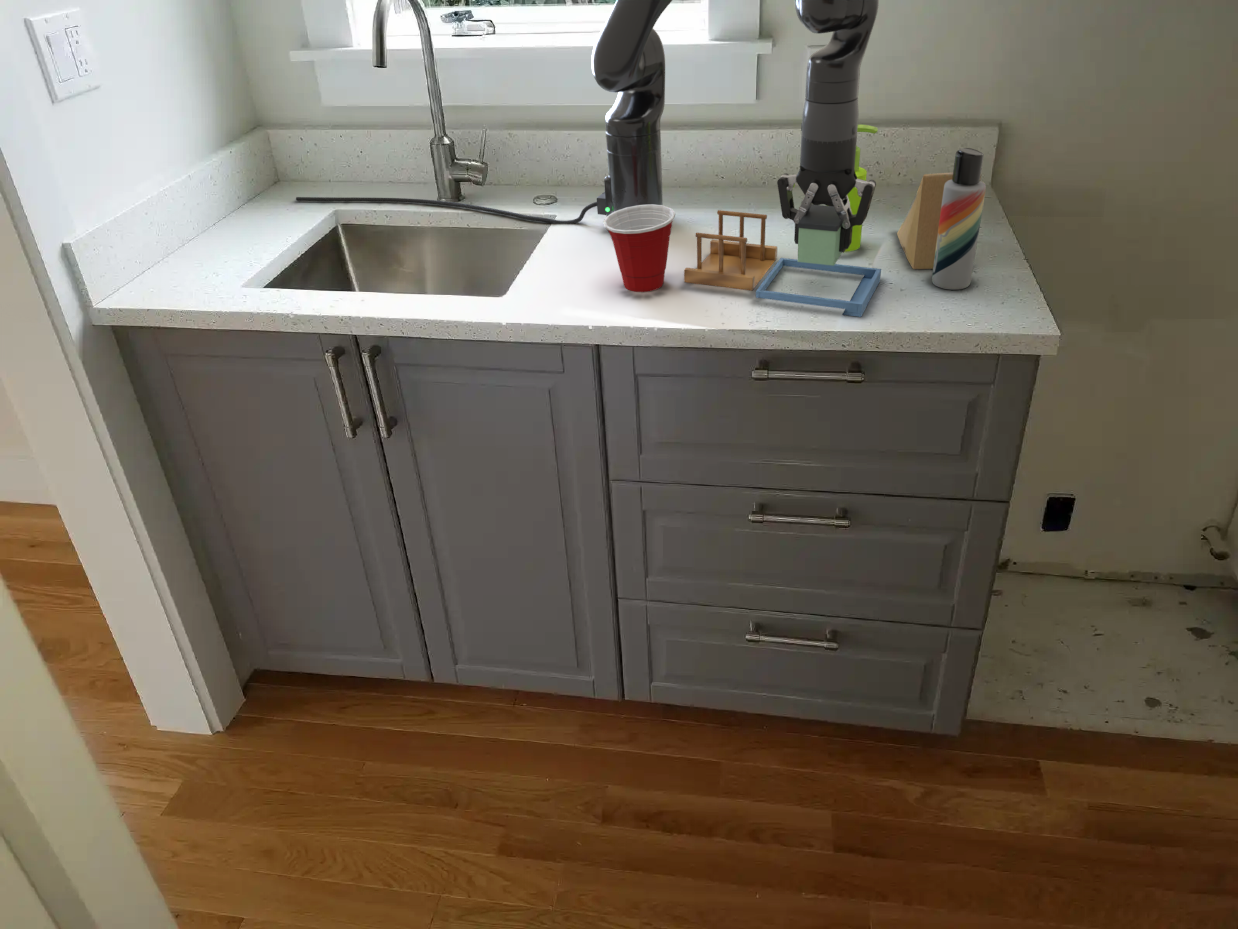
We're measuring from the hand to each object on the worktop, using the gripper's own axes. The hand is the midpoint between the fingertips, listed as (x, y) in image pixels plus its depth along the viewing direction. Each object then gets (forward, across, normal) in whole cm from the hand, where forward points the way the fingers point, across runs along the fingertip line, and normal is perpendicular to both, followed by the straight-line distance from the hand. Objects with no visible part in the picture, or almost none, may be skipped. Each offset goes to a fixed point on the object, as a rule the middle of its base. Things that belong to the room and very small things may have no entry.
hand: (822, 247), depth 143 cm
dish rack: (+7, +15, -2) cm, 16 cm away
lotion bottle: (+7, -18, -9) cm, 21 cm away
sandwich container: (+7, -13, -21) cm, 26 cm away
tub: (+1, 0, 0) cm, 1 cm away
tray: (+7, 0, 0) cm, 7 cm away
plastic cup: (+7, +26, +7) cm, 28 cm away
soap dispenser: (+7, 0, -17) cm, 18 cm away
